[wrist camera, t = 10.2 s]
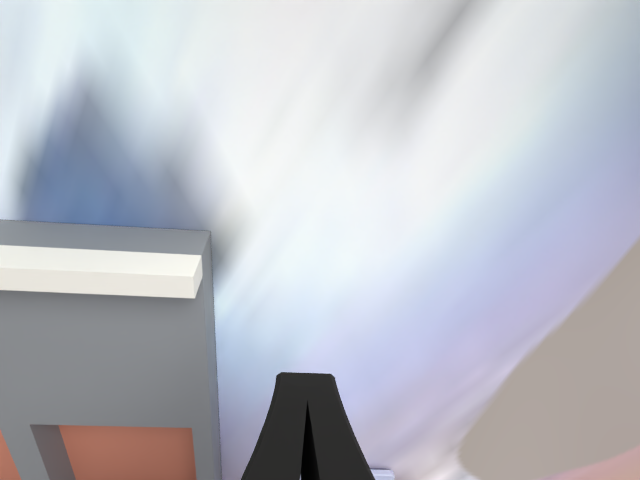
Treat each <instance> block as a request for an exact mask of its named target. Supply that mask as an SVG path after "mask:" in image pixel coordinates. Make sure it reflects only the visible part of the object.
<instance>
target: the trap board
mask: <svg viewBox="0 0 640 480" xmlns="http://www.w3.org/2000/svg"><path fill="white" fill-rule="evenodd" d="M0 480H222V474H221V452H220V430H219V407H218V385H217V363H216V341H215V319H214V297H213V275H212V253H211V231H196V230H178V229H160V228H142V227H123V226H105V225H87V224H69V223H51V222H32V221H14V220H0Z"/></svg>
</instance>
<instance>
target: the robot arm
mask: <svg viewBox="0 0 640 480" xmlns="http://www.w3.org/2000/svg"><path fill="white" fill-rule="evenodd" d="M241 480H395V476H394V473H393V471H391V470H376V469H370V468H369V466H368V464H367V462H366V459H365V457H364V455H363V453H362V451H361V448H360V446H359V444H358V442H357V439H356V437H355V435H354V433H353V430H352V428H351V425H350V423H349V420H348V418H347V415H346V412H345V410H344V407H343V404H342V401H341V398H340V395H339V392H338V389H337V385H336V381H335V377H334V376H332V375H331V374H318V373H287V372H281V373H280V374H278V375H277V376H276V384H275V389H274V393H273V397H272V401H271V405H270V408H269V411H268V414H267V417H266V420H265V423H264V426H263V428H262V431H261V433H260V436H259V439H258V441H257V444H256V446H255V449H254V451H253V454H252V456H251V458H250V461H249V463H248V465H247V467H246V469H245V472H244V474H243V476H242V478H241Z"/></svg>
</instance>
